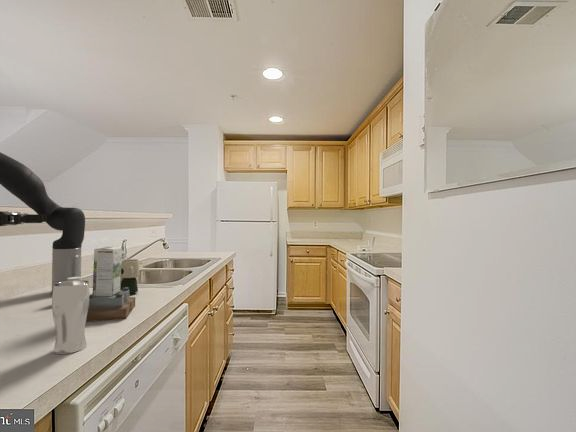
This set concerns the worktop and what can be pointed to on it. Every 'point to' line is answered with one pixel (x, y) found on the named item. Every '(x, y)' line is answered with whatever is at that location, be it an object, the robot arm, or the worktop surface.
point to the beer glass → (70, 315)
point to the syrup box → (107, 271)
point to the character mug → (130, 274)
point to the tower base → (111, 312)
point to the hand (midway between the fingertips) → (44, 218)
